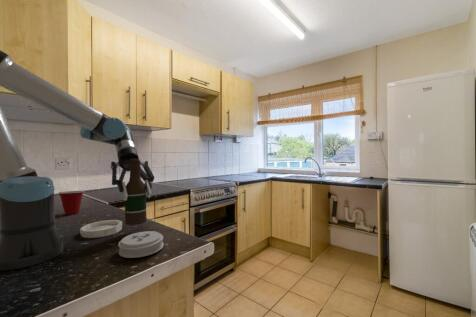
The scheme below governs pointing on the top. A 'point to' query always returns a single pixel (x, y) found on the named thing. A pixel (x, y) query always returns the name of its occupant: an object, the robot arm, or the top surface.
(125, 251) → the lid
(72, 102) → the robot arm
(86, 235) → the dish
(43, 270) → the top surface
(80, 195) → the plastic cup
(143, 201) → the beer bottle
